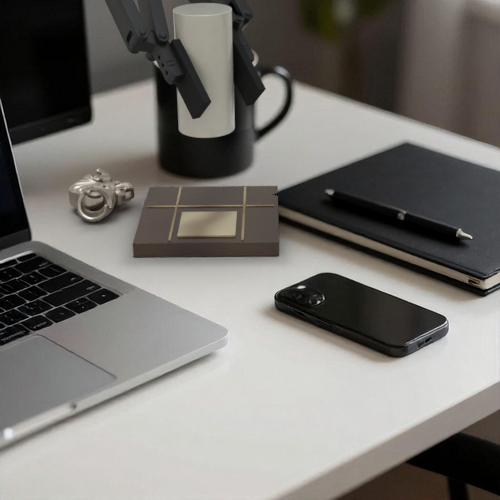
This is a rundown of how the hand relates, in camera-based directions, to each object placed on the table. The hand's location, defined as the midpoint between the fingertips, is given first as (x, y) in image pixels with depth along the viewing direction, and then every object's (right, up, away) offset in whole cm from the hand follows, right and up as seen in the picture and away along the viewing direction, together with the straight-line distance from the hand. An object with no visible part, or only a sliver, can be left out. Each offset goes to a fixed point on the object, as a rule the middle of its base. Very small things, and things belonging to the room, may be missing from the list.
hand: (229, 103), depth 82 cm
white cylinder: (-2, -2, +4) cm, 5 cm away
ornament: (-14, -9, +17) cm, 24 cm away
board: (-2, -11, +13) cm, 17 cm away
